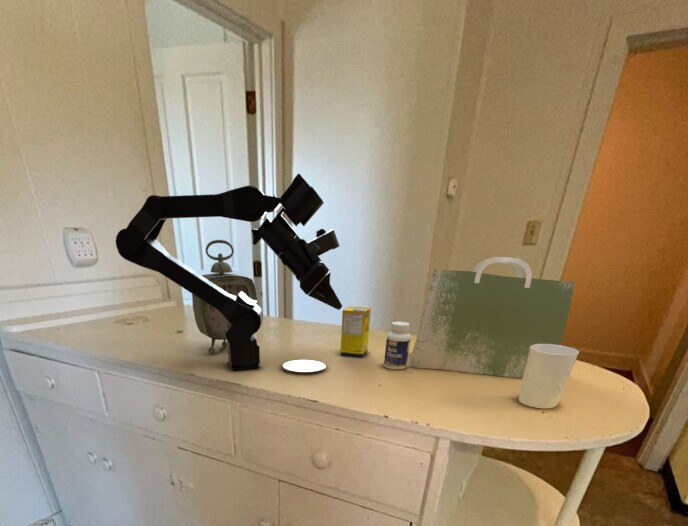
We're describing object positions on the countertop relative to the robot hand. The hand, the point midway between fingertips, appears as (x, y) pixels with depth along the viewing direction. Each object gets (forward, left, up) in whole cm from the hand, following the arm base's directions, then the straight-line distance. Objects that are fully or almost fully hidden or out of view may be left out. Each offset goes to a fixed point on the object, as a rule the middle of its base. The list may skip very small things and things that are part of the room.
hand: (338, 304), depth 93 cm
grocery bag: (+33, -11, -14) cm, 37 cm away
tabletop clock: (-20, +24, -14) cm, 35 cm away
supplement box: (+10, +9, -14) cm, 19 cm away
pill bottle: (+14, -4, -14) cm, 20 cm away
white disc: (-7, +1, -14) cm, 16 cm away
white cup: (+27, -35, -14) cm, 46 cm away
